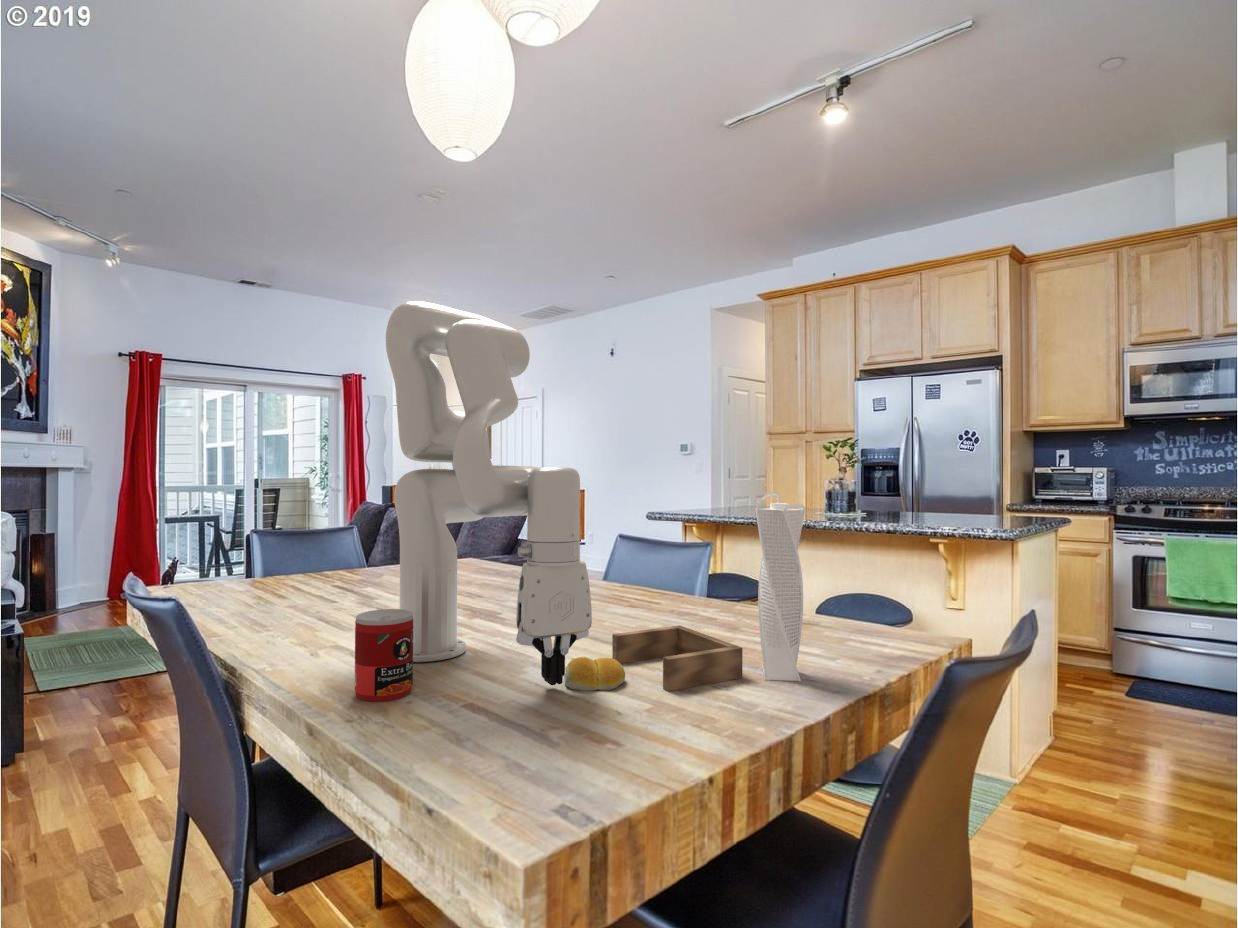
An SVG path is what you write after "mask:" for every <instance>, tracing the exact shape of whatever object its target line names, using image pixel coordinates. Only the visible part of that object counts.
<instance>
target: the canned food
mask: <svg viewBox="0 0 1238 928" xmlns="http://www.w3.org/2000/svg"><path fill="white" fill-rule="evenodd" d="M354 625H355V628H354V691H355V695H356V697H357V698H358V699H359V700H362V701H365V702H373V703H380V702H389V701H394V700H398V699H402V698H405V697H406V696H408V695H409V694H410V693H411V691H412V689H413V683H414V682H413V681H414V679H413V678H414V677H413V676H414V673H413V672H414V662H413V626H414V625H413V613H412V612H411V611H408V610H402V609H400V608H384V609H383V608H382V609H374V610H368V611H364V612H360V613H358V614H357V615H356V616H355V623H354Z"/></svg>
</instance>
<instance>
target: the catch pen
mask: <svg viewBox="0 0 1238 928" xmlns="http://www.w3.org/2000/svg"><path fill="white" fill-rule="evenodd" d="M611 639H612V642H611V643H612V654H611V655H612V659H615V660H616V661H618V662H619V663H620V664H624V663H632V662H637V661H643V660H649V659H650V660H651V659H657V658H662V689H663V690H664V691H666V692H672V691H677V690H678V691H679V690H683V689H690V688H694V687H698V686H705V685H710V684H715V683H721V682H726V681H732V680H736V679H737V680H738V679H742V678H743V647H741V646H738V645H735V644H733V643H730V642H727V641H725V640H722V639H719V638H716V637H713V636H710V635H708V634H705V633H703V632H699V631H696V630H693V629H691V628H688V627H686V626H684V625H683V626H682V625H673V626H667V627H666V626H665V627H658V628H657V627H656V628H649V629H643V630H633V631H628V632H620V633H619V632H618V633H612V638H611ZM676 654H677V655H676Z"/></svg>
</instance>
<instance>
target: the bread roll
mask: <svg viewBox="0 0 1238 928" xmlns="http://www.w3.org/2000/svg"><path fill="white" fill-rule="evenodd" d="M563 677H564V678H563V679H564V680H563V681H564V682H563V683H564V685H565V686H566V687H567V688H568V687H569V688H568V689H571V690H575V689H576V690H577V691H585V692H591V691H593V692H594V691H597V690H600V691H610V690H615V689H616V688H619V687H620V686H621V685H622V684H623V683H624V682H625V679H626V672H625V669H624V667H623V665H622V663H619V662H618V661H616V660H615V659H612V658H611V657H601V658H595V659H592V658H589V657H585V656H584V657H583V656H582V657H581V656H580V657H578V656H577V657H576V658H572V659H571V660H570V661H569V662H568V664H567V666H565V675H564V676H563ZM619 685H620V686H619Z"/></svg>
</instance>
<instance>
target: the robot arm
mask: <svg viewBox="0 0 1238 928" xmlns="http://www.w3.org/2000/svg"><path fill="white" fill-rule="evenodd" d="M385 349H386V350H385V351H386V355H387V359H388V364H389V366H390V370H391V373H392V378H393V381H394V387H395V400H396V413H397V414H396V416H397V424H398V425H397V428H398V439H399V444H400V448H401V452H402V454H403V455H404V457H406V458H407V459H409V460H412V461H414V462H416V461H417V462H424V463H450V464H451V466H452V469H448V468H423V469H422V468H421V469H415V470H411V471H408V472H406V473H405V474H403V475H402V476H401V477H400V478H399V479H398V480H397V482H396V485H395V487H394V491H393V500H394V507H395V511H396V512H395V513H396V518H397V524H398V525H397V526H398V533H399V609H402V610H408V611H411V612H412V613H413V625H414V626H413V663H429V662H437V661H444V660H449V659H452V658H456V657H458V656H461V655H462V654H464V653H465V651H466V650H467V648H466V647H467V644H466V642H465V641H464V640H462V639H459V638H458V626H457V625H458V623H457V622H458V548H457V545H456V544H457V543H456V541H455V539H454V537H453V536H452V533H451V532H450V530H449V528H448V526H447V524H454V523H455V524H456V523H468V522H469V523H470V522H477V521H479V520H482V519H483V518H499V517H500V518H501V517H512V516H513V517H523V516H527V530H526V531H527V536H526V538H527V540H526V541H525V545H523V546H519V547H518V548H517V555H518V557H524V558H525V560H526V561H527V562H523V563H522V566H521V567H522V568H521V572H520V576H519V583H518V588H517V590H518V591H517V602H516V613H515V615H516V617H515V618H516V628H517V629H518V631H517V633H516V637H515V639H516V642H517V643H518V644H519V645H522V646H529V647H534V648H535V649H536V650H537V651H538V652H539V653H540V654H541V655H540V656H541V661H540V662H541V669H540V670H541V673H540V674H541V677H542V678H543V680H544V681H545V682H546V683H547V684H549V685H550V686H555V685H556V684H557V685H563V684H564V682H563V681H564V680H563V679H564V678H563V677H564V676H565V674H566V655H568V654H569V652H570V651H569V650H570V648H571V647H572V646H573V645H574V644H575V642H576V641H579V640H581V639H583V638H586V637H588V636H589V635H590V631H589V630H590V628H591V627H592V623H593V621H592V620H593V619H592V618H593V617H592V615H593V612H592V597H591V587H590V586H591V585H590V579H589V572H588V568H587V564H586V562H585V561H582V560H581V538H580V537H581V535H580V533H581V532H580V531H581V477H580V473H579V472H578V470H576V469H575V468H573V467H566V466H565V467H564V466H563V467H562V466H551V467H550V466H543V467H542V466H541V467H540V466H539V467H538V466H537V467H536V466H531V465H530V466H525V465H524V466H523V465H500V464H499V465H498V464H497V465H496V464H495V465H493V463H492V461H491V452H490V451H491V450H490V449H491V448H490V441H489V435H488V431H487V428H488V427H491V426H494V425H496V424H498V423H500V422H502V421H504V420H506V419H508V418H509V417H510V416H512V414H514V413H515V412H516V410H517V409H518V407H519V397H518V394H517V392H516V390H515V389H516V388H515V386H514V383H513V380H512V378H516V377H520V376H521V375H522V374H523V373H525V371H526V370H527V369H528V366H529V363H530V357H531V354H530V347H529V344H528V342H527V340H526V337H525V336H524V335H523V334H522V333H521V332H520V331H519V330H518V329H516V328H513V327H511V326H508V325H505V324H502V323H500V322H497V321H495V320H492V319H490V318H488V317H485V316H482V315H481V314H476V313H472V312H469V311H464V310H459V309H456V308H452V307H449V306H445V305H441V304H436V303H432V302H426V301H416V300H415V301H414V300H413V301H407V302H403V303H401V304H399V305H398V306H396V307H395V308H394V309H393V311H392V312H391V314H390V316H389V319H388V322H387V325H386V330H385ZM431 354H432V355H437V356H440V357H441V356H442V357H447V358H448V361H449V363H450V366H451V369H452V373H453V377H454V379H455V383H456V386H457V389H458V394H459V395H460V396H459V397H460V400H461V403H462V406H463V409H464V411H462V410H454V409H453V410H451V408H449V404H448V401H447V400H448V399H447V390H446V389H447V387H446V382H445V380H444V377H443V376H442V374H441V372H440V370H439V368H438V367H437V365H436V364H435V362H433V360H432V359H431V357H430V355H431ZM552 637H554V642H552Z"/></svg>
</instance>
